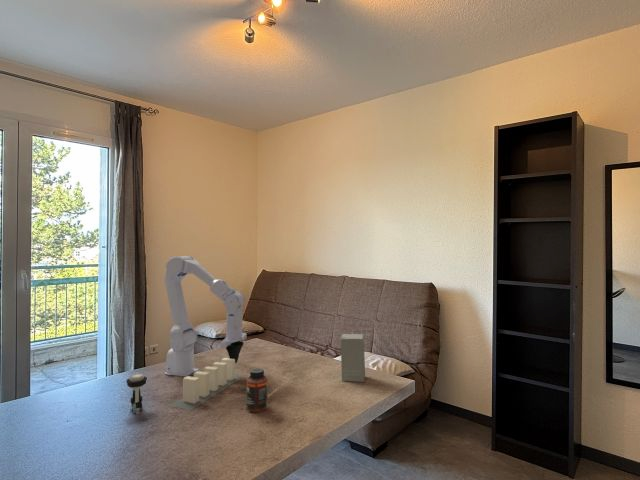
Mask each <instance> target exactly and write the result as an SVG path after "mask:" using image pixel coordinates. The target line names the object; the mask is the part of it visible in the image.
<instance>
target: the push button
mask: <svg viewBox="0 0 640 480" xmlns="http://www.w3.org/2000/svg"><path fill="white" fill-rule="evenodd" d="M147 380H148V377H147V376H145V375H144V373H134V374H131V375H130V376H129V378H127V379H126V386H127V387H129V388H131V389H132V397H130V411H133V413H136V415H139V414H140V412H141V409H143V396H142V395H141V388H142V387H143V386H144V385H147Z"/></svg>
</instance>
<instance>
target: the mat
mask: <svg viewBox="0 0 640 480" xmlns="http://www.w3.org/2000/svg"><path fill="white" fill-rule="evenodd" d="M244 377H245V375H242V374H237V373H235V379H234V380H232V381H231V380H227V384H225V385H224V386H222V385H218V389H217V390H216V391H210V390H209V395H208V396H206V397H201V396H199V401H198V402H197V403H189V402H183V397H182V398H180V399H178V400H177V401H174V402H173V403H172V404H170V405H169V407H171V408H176V409H182V410H187V411H192V410H194V409H196V408H197V407H198V406H200V405H201V404H203V403H206V401H208V400H209V399H211V398H213V397H214V396H215V395H217V394H219V393H220V392H222V391H223V390H225V389H227V388H228V387H230V386H231V385H233V384H235V383H236V382H237V381H239V380H241V379H243V378H244Z"/></svg>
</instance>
